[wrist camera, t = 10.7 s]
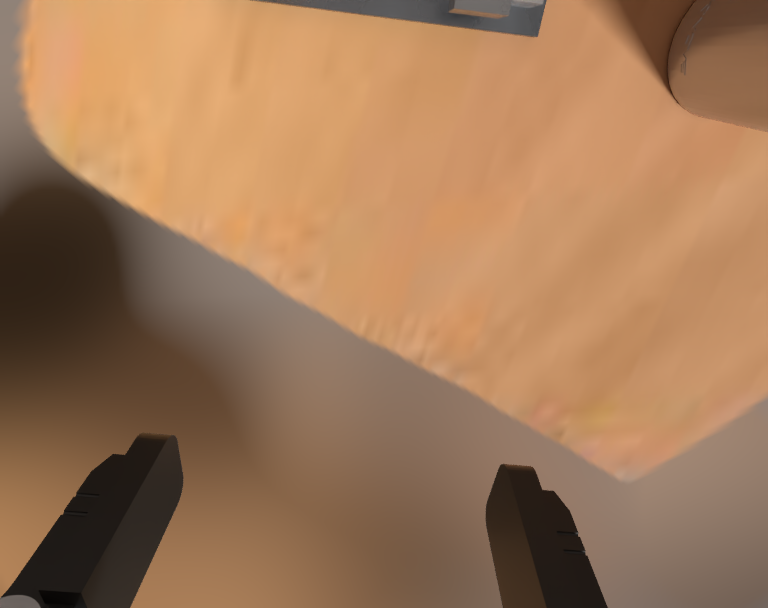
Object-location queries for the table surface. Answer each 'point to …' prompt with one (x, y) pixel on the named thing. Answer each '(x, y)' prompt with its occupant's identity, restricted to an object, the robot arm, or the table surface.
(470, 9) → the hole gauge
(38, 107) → the table surface
